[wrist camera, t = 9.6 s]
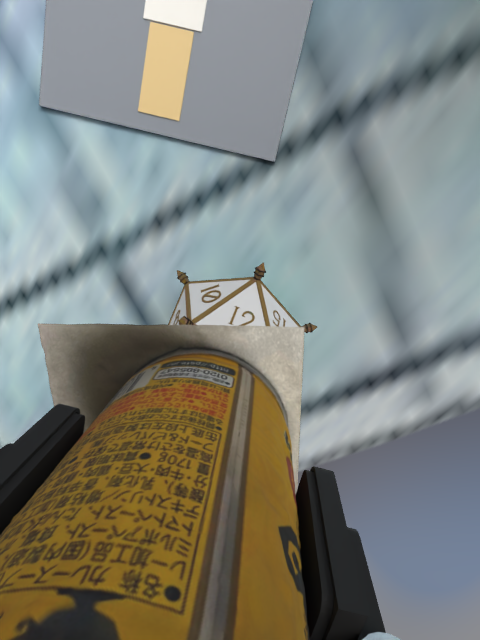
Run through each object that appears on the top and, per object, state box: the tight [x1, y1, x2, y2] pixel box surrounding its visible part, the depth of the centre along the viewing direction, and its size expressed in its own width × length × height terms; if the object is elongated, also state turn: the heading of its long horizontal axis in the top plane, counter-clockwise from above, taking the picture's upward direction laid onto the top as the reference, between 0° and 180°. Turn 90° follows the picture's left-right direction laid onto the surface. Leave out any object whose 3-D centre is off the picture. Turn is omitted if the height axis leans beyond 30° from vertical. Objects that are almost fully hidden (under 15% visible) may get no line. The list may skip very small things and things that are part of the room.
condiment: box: [0, 324, 310, 640], centre depth 8 cm, size 7×8×12 cm
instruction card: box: [39, 0, 313, 162], centre depth 21 cm, size 10×14×1 cm
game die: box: [168, 263, 317, 333], centre depth 22 cm, size 9×8×10 cm
